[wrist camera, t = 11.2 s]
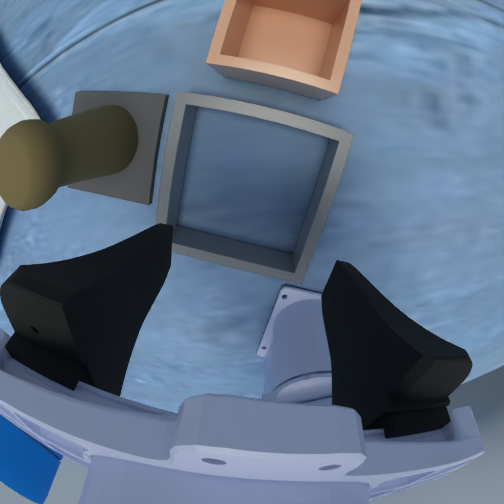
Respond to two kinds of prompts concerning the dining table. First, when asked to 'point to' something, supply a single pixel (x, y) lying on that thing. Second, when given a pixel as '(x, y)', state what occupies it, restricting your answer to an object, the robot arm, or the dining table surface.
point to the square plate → (12, 113)
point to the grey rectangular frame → (233, 250)
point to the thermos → (26, 462)
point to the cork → (63, 153)
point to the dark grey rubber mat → (144, 162)
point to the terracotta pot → (285, 43)
